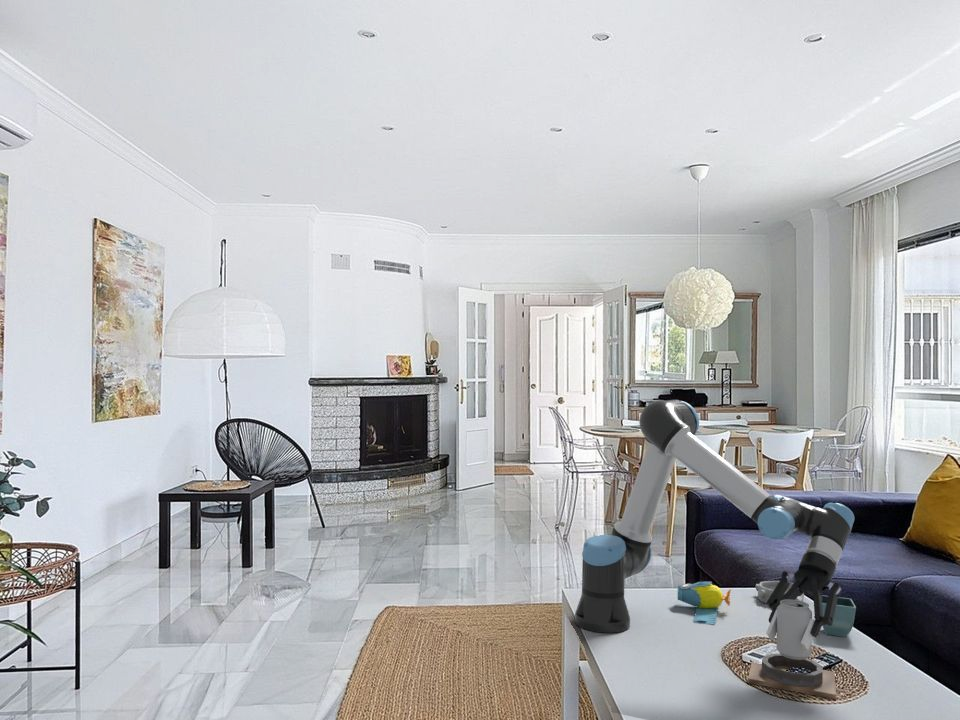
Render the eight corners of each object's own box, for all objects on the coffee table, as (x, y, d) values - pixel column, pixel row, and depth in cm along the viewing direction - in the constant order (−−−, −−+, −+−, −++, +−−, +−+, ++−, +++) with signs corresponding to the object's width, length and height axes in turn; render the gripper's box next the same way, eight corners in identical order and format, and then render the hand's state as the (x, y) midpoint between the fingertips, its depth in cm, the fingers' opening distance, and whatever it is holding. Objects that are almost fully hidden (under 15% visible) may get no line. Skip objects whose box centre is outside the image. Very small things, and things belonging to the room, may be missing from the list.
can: (815, 662, 166) (815, 608, 167) (779, 659, 168) (780, 606, 168) (807, 650, 174) (808, 599, 174) (773, 647, 175) (774, 596, 176)
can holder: (747, 682, 168) (748, 667, 168) (752, 661, 181) (752, 647, 181) (835, 699, 161) (836, 683, 161) (834, 676, 174) (834, 661, 174)
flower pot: (851, 630, 206) (851, 598, 206) (855, 641, 198) (856, 607, 198) (816, 626, 209) (817, 594, 209) (819, 636, 200) (820, 603, 201)
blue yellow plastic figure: (727, 597, 206) (672, 590, 212) (727, 628, 206) (671, 621, 211) (733, 572, 232) (683, 567, 238) (733, 600, 232) (683, 595, 237)
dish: (804, 599, 235) (805, 583, 235) (804, 611, 222) (804, 594, 222) (756, 592, 241) (756, 577, 241) (753, 604, 228) (753, 588, 228)
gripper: (868, 578, 173) (837, 664, 163) (785, 560, 189) (751, 638, 178) (859, 559, 170) (826, 645, 159) (774, 542, 186) (739, 620, 175)
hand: (786, 641), depth 169 cm, fingers closed on can, 7 cm apart
